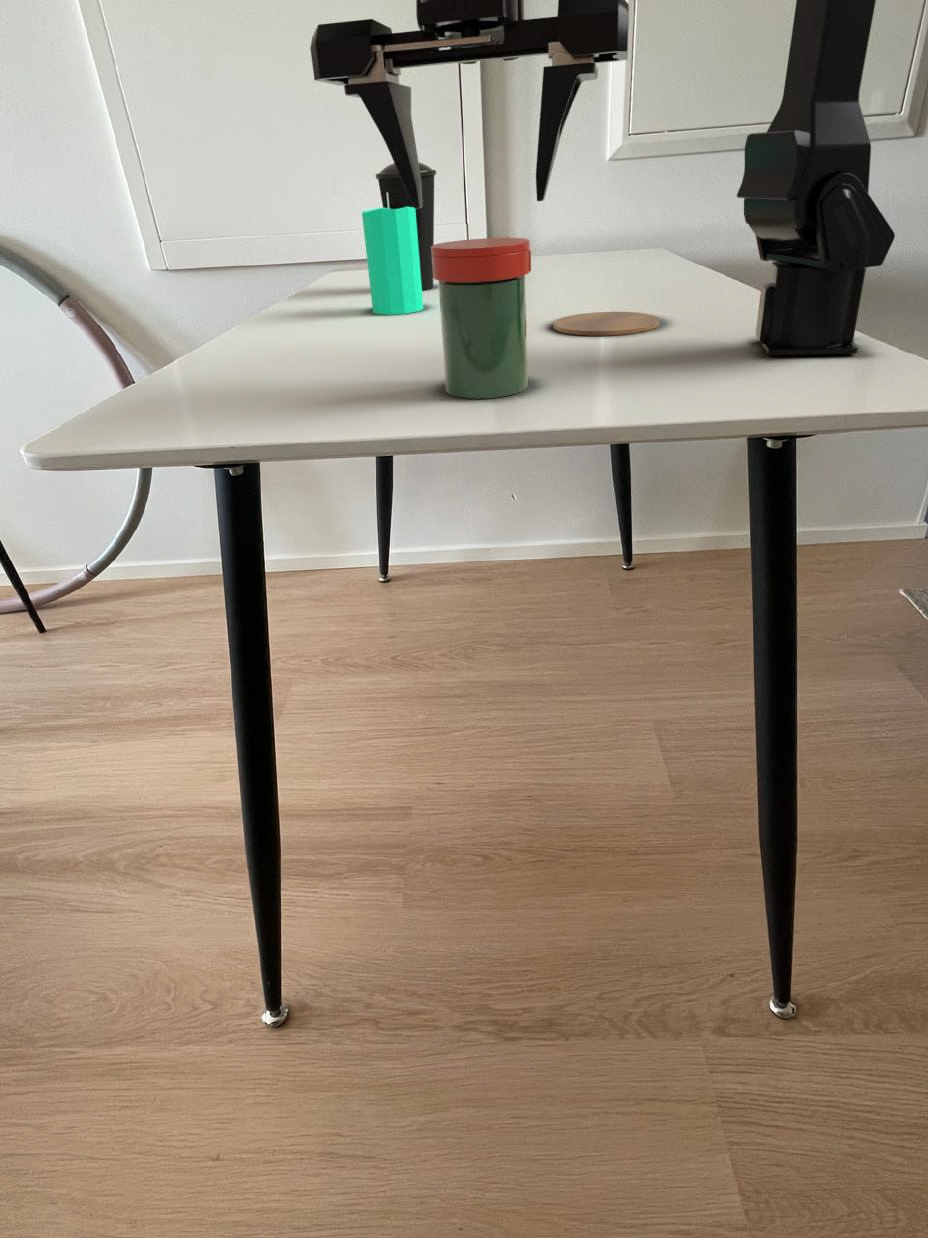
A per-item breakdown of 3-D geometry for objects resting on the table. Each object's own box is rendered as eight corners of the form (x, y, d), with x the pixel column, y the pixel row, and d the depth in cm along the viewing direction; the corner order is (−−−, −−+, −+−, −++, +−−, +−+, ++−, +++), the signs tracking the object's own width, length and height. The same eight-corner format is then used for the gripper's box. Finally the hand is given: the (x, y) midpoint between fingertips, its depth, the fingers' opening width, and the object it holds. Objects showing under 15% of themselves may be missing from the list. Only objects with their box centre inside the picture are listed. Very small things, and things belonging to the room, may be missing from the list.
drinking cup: (454, 284, 107) (444, 109, 97) (422, 293, 102) (407, 108, 92) (409, 283, 111) (394, 114, 101) (375, 291, 106) (356, 114, 96)
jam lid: (536, 266, 57) (535, 235, 56) (525, 279, 51) (524, 245, 50) (444, 270, 58) (441, 240, 57) (423, 283, 52) (421, 250, 51)
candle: (416, 313, 89) (406, 191, 83) (365, 315, 90) (351, 195, 84) (429, 304, 94) (420, 189, 88) (381, 306, 95) (368, 192, 89)
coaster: (657, 314, 80) (657, 309, 79) (660, 334, 71) (661, 329, 71) (557, 317, 81) (557, 313, 81) (549, 337, 73) (549, 332, 73)
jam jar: (531, 377, 60) (529, 245, 56) (522, 398, 55) (519, 255, 51) (454, 378, 61) (446, 249, 57) (438, 399, 56) (427, 259, 52)
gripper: (633, -94, 50) (623, 189, 57) (348, -58, 53) (375, 205, 61) (633, -150, 40) (622, 198, 48) (287, -102, 44) (329, 215, 51)
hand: (478, 204), depth 52 cm, fingers open, 8 cm apart
